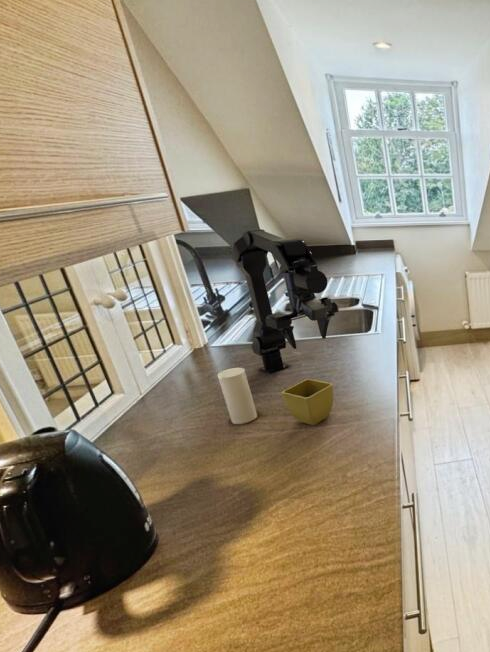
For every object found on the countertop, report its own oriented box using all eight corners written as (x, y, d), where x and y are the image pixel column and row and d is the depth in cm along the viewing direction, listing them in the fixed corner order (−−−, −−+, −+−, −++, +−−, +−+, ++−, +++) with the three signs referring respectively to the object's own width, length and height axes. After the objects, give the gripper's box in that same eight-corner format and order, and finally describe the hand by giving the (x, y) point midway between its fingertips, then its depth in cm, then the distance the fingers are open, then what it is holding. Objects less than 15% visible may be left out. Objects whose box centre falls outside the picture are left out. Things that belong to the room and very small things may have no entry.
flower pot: (339, 414, 117) (333, 383, 114) (314, 431, 110) (307, 398, 106) (314, 408, 121) (307, 378, 117) (288, 424, 113) (280, 392, 110)
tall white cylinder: (227, 420, 117) (212, 374, 111) (249, 410, 121) (237, 365, 116) (238, 426, 113) (224, 379, 108) (261, 416, 118) (249, 370, 113)
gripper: (282, 300, 109) (296, 360, 115) (346, 284, 122) (355, 338, 129) (258, 294, 115) (272, 351, 121) (321, 279, 128) (331, 332, 135)
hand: (309, 343), depth 126 cm, fingers open, 9 cm apart
